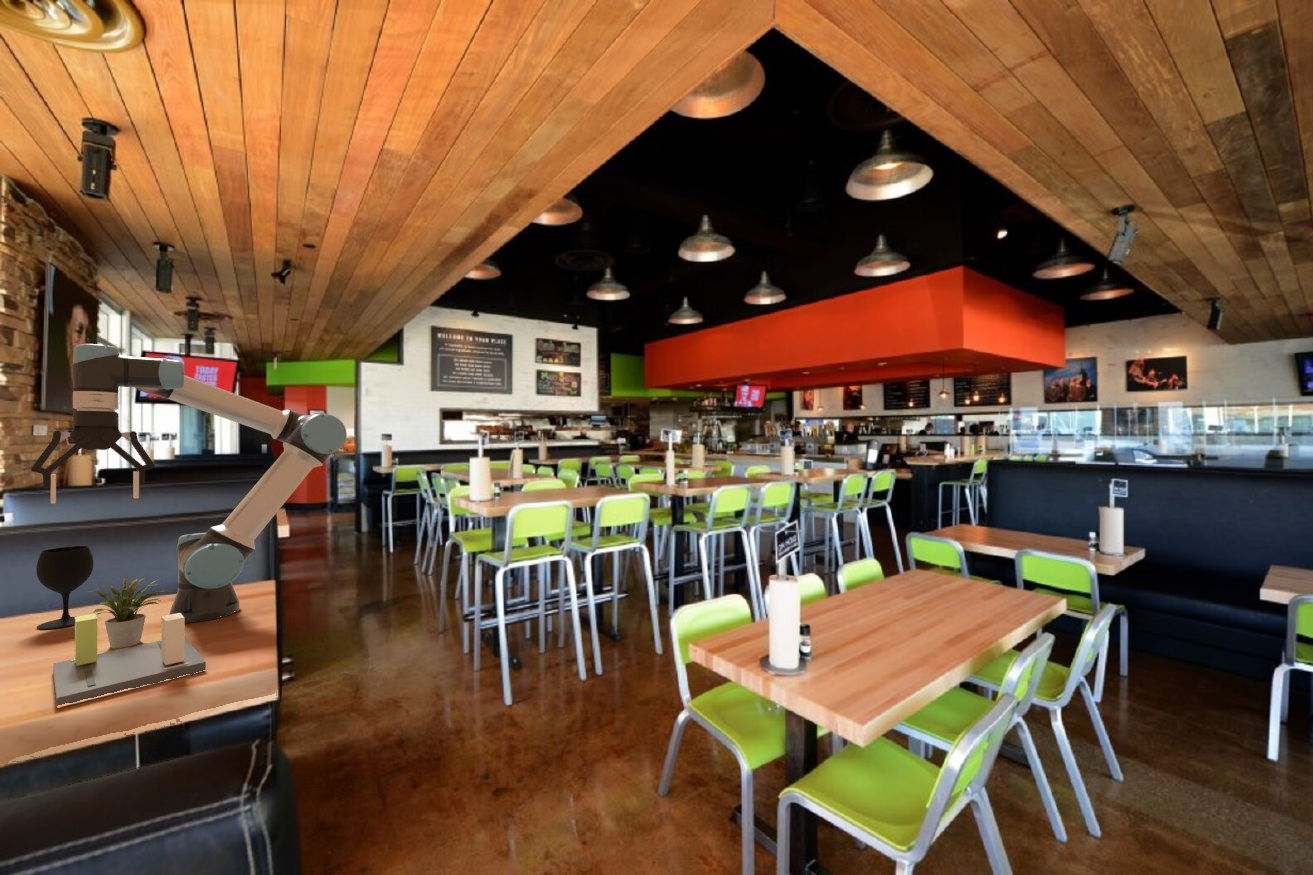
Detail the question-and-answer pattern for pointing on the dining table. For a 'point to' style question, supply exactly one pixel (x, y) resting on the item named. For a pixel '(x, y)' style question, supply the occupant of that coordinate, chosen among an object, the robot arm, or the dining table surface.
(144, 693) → the dining table surface
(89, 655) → the fader lime
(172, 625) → the fader cream
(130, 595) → the house plant
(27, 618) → the dining table surface
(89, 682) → the mixing board
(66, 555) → the wine glass
